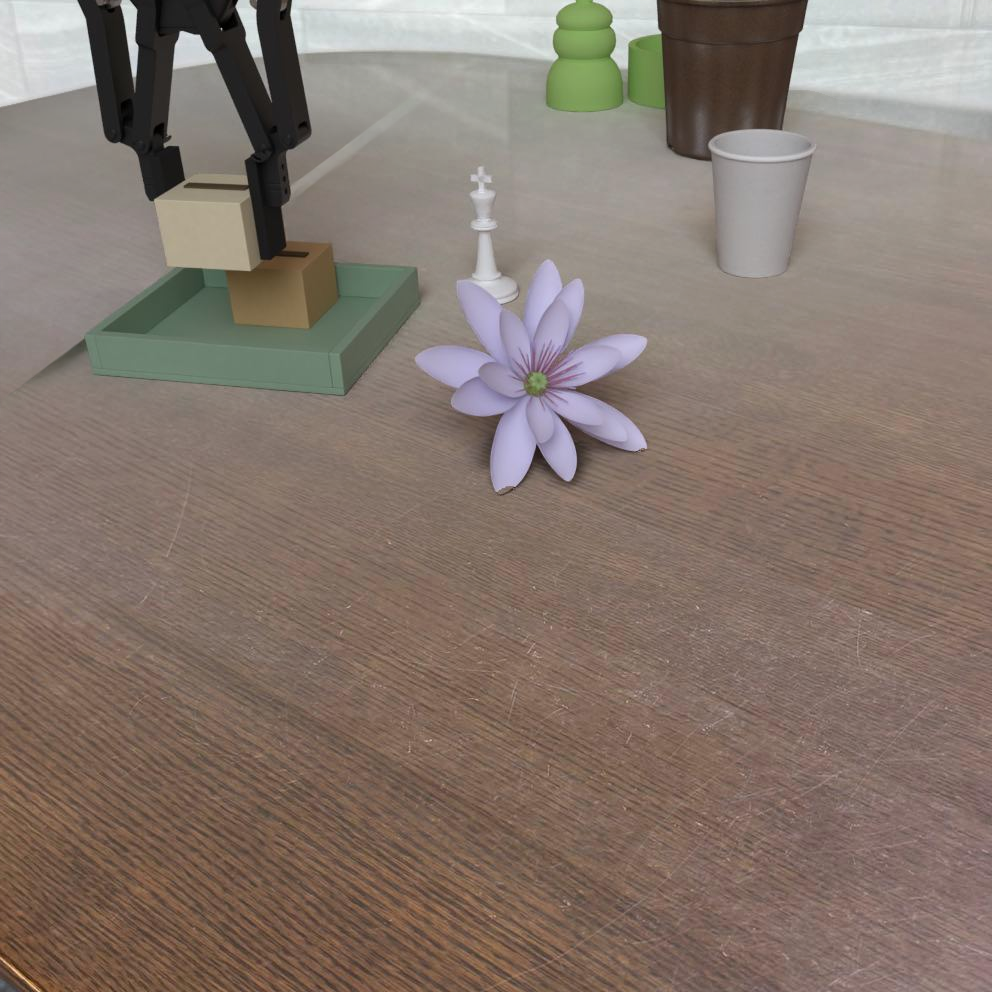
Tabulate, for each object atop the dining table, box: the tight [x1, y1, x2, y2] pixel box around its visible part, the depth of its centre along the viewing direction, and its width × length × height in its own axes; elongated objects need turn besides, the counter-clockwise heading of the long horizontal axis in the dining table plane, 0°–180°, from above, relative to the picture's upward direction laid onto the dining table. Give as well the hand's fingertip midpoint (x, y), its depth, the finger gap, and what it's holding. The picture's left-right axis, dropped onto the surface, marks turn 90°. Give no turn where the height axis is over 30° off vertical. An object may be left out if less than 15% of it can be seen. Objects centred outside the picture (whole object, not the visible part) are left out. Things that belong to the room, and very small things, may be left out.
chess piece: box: [455, 165, 520, 305], centre depth 92 cm, size 5×5×10 cm
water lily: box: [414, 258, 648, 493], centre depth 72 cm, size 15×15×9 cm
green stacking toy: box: [545, 0, 665, 113], centre depth 146 cm, size 25×15×13 cm, turn 101°
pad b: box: [226, 240, 338, 329], centre depth 90 cm, size 6×6×5 cm
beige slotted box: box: [153, 173, 288, 271], centre depth 80 cm, size 6×6×5 cm
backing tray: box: [83, 261, 421, 396], centre depth 88 cm, size 19×17×3 cm
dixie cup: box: [708, 129, 818, 279], centre depth 96 cm, size 8×8×10 cm
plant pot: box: [656, 0, 809, 162], centre depth 125 cm, size 16×16×16 cm
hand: (227, 249), depth 81 cm, fingers closed on beige slotted box, 6 cm apart
